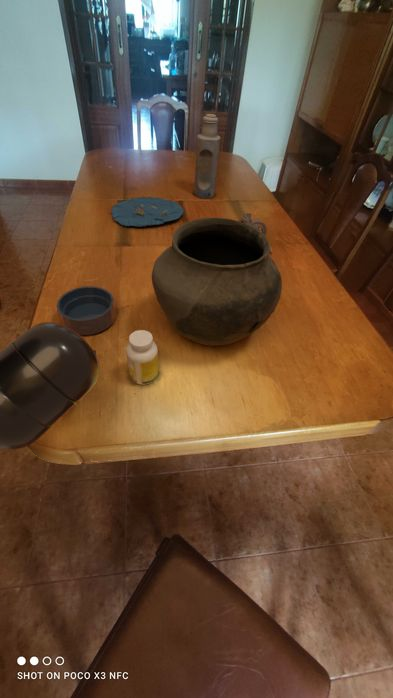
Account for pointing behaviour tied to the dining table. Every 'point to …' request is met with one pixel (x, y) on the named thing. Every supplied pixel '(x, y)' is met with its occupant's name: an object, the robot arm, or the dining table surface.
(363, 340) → the dining table surface
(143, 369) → the pill bottle
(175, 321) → the pot
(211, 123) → the bottle
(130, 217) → the decorative plate
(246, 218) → the spaceship
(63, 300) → the bowl
